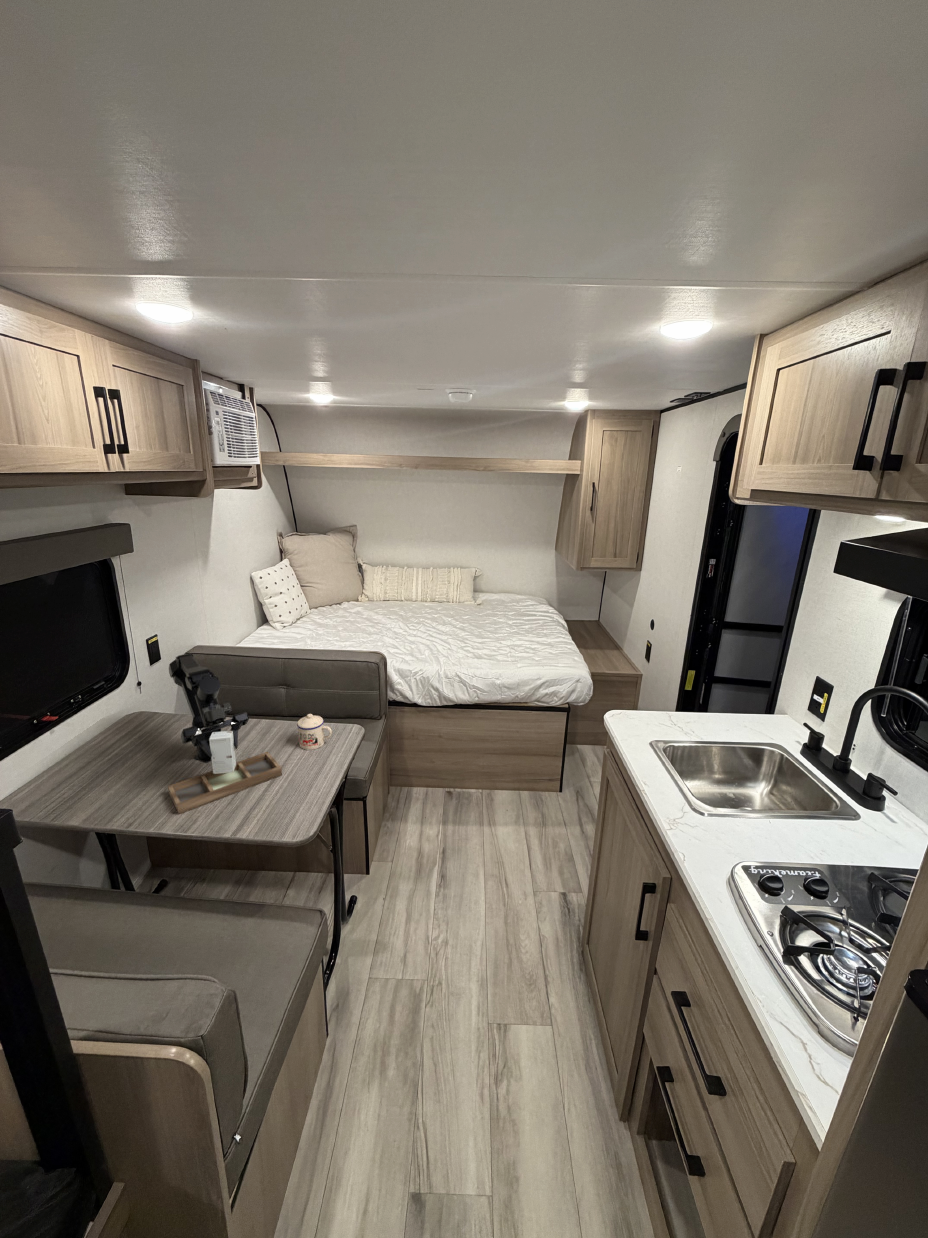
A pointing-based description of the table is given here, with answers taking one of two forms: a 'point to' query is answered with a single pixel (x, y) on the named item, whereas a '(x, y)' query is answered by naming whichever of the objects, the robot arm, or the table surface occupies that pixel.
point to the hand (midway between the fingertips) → (224, 752)
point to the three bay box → (223, 782)
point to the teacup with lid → (312, 732)
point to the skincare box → (222, 752)
